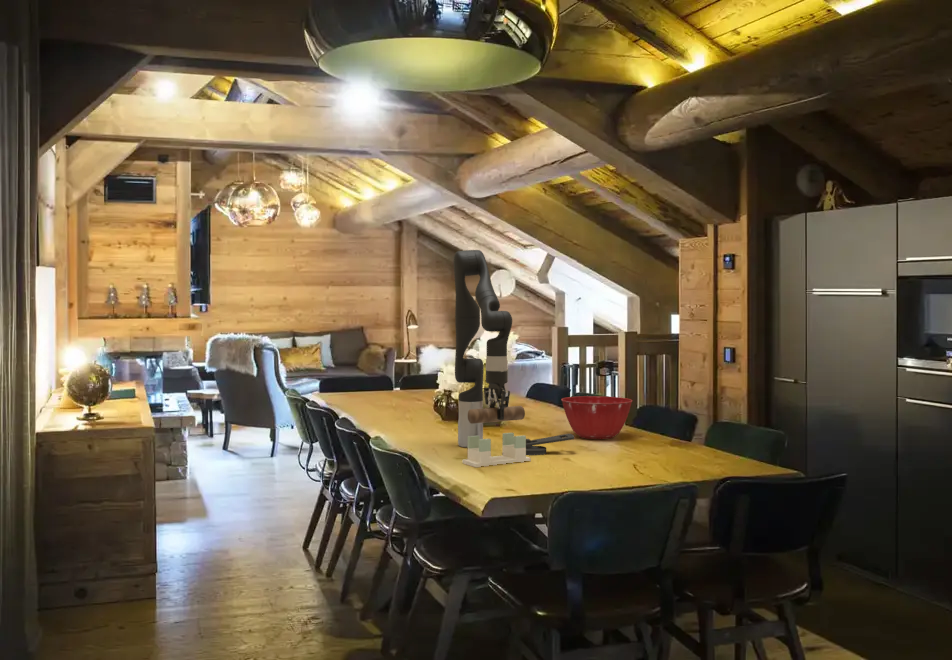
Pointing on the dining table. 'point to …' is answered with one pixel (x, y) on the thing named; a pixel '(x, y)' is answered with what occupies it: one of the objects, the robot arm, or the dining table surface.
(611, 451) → the dining table surface
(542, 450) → the zipper pull
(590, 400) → the mixing bowl
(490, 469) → the dining table surface
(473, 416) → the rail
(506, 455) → the white cradle stand
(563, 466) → the dining table surface
